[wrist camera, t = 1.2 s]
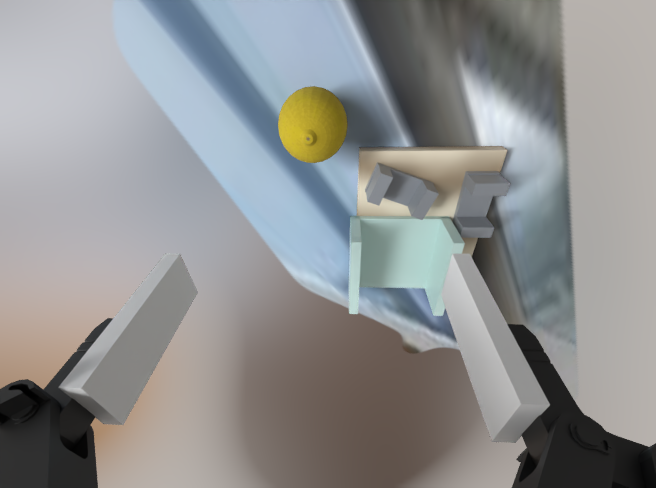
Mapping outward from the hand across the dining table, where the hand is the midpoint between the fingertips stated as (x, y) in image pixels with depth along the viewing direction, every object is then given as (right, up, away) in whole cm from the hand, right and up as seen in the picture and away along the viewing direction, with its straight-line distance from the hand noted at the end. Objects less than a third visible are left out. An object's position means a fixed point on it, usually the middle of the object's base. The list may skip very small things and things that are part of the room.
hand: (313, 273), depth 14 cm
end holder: (+9, 0, +19) cm, 21 cm away
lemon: (0, +14, +12) cm, 18 cm away
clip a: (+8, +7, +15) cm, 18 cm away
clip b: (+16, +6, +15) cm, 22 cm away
